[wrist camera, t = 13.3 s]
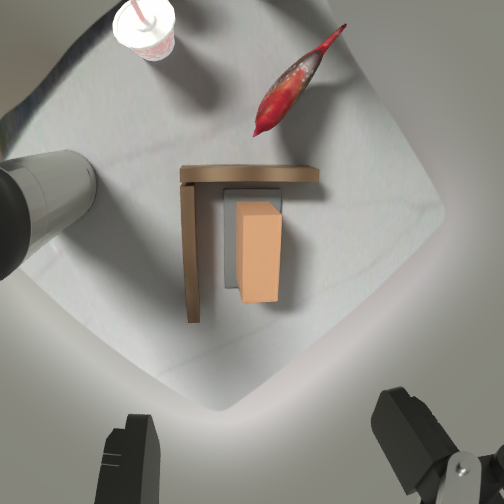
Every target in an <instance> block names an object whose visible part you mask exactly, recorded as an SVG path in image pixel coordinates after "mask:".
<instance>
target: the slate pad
mask: <svg viewBox="0 0 504 504" xmlns="http://www.w3.org/2000/svg"><path fill="white" fill-rule="evenodd" d="M237 202H270V203H271V204H272V205H273V206H274V207H275V208H276V209H277V210H278V211H279V212H280V209H281V189H224V274H225V288H233V287H238V282H237V278H236V211H237Z"/></svg>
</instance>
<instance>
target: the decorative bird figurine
mask: <svg viewBox="0 0 504 504" xmlns="http://www.w3.org/2000/svg"><path fill="white" fill-rule="evenodd" d="M346 25H347V24H344V25H342V26H341V27H340V28H339V29H338V30H336V31H335V32H334V33H333V34H332V35H331V36H330V37H329V38H328V39H327V40H325V41H324V42H323V43H322V44H321V45H320V46H319V47H317V48H316V49H314V50H313V51H311V52H309V53H307V54H306V55H304V56H303V57H302V58H300V59H299V60H298V61H297V62H296V63H294V64H293V65H292V66H291V67H290V68H288V69H287V70H286V71H285V72H284V73H283V74H282V75H281V76H280V77H279V79H278V80H277V81H276V82H275V83H274V84H273V86H272V87H271V88H270V90H269V91H268V92H267V94H266V95H265V97H264V98H263V100H262V102H261V104H260V106H259V109H258V112H257V116H256V121H255V122H256V129H255V131H254V134H253V137H255V136H257V135H259V134H260V133H262V132H264V131H268V130H270V129H272V128H273V127H275V126H276V125H277V124H278V123H279V122H280V121H281V120H282V119H283V117H284V116H285V115H286V113H287V112H288V110H289V109H290V108H291V107H292V106H293V104H294V103H295V102H296V100H297V99H298V98H299V96H300V95H301V94H302V92H303V91H304V90H305V88H306V87H307V85H308V84H309V82H310V81H311V79H312V77H313V75H314V74H315V72H316V70H317V68H318V66H319V65H320V62H321V60H322V57H323V55H324V53H325V52H326V50H327V49H328V48H329V46H330V45H331V44H332V43H333V42H334V40H335V39H336V38H337V37H338V36H339V34H340V33H341V32H342V31H343V29H344V28H345V27H346Z"/></svg>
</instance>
